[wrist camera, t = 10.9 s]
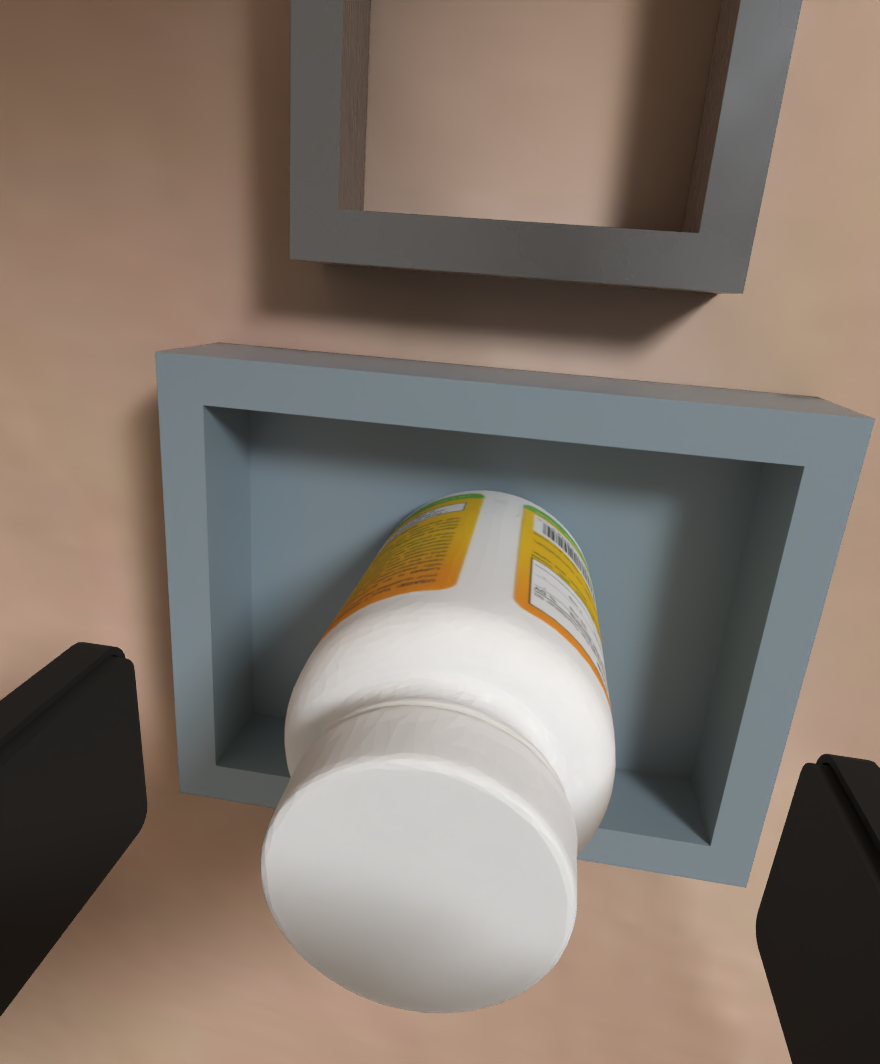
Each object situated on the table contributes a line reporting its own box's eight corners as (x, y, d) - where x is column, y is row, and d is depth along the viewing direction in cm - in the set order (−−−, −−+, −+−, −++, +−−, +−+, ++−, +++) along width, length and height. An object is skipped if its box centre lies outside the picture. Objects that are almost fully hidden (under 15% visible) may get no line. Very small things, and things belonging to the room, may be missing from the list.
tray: (218, 342, 17) (155, 352, 15) (817, 397, 16) (875, 419, 13) (229, 725, 21) (179, 792, 18) (717, 801, 19) (746, 887, 17)
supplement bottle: (361, 654, 19) (183, 990, 10) (399, 461, 17) (225, 652, 8) (560, 707, 18) (568, 1107, 9) (620, 516, 17) (704, 781, 8)
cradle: (328, -241, 14) (292, -326, 12) (823, -244, 12) (871, -340, 11) (319, 262, 16) (289, 259, 15) (719, 293, 15) (742, 293, 14)
